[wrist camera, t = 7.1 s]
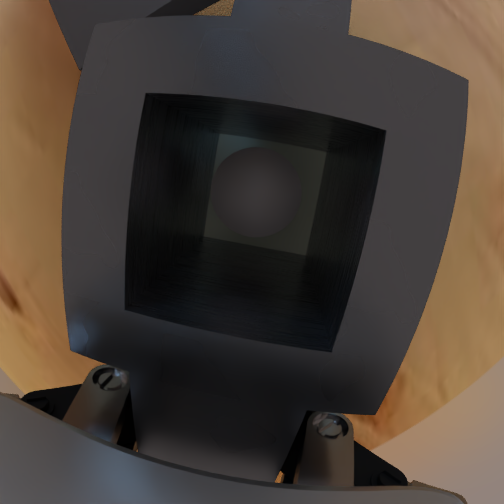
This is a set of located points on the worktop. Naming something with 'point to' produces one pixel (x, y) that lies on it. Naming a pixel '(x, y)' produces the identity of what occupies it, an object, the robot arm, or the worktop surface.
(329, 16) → the link
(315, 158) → the board
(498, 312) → the worktop surface
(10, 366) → the worktop surface
